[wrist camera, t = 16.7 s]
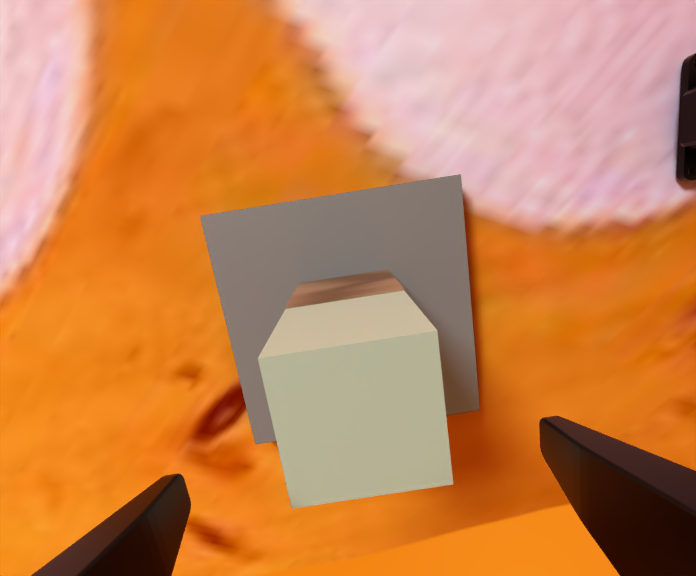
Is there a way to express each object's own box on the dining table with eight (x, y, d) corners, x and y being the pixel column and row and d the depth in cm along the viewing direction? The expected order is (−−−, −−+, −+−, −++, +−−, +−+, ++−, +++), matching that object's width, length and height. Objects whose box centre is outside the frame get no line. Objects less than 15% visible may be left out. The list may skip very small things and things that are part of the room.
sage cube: (404, 290, 14) (437, 330, 9) (417, 398, 15) (453, 484, 11) (285, 309, 14) (257, 358, 10) (306, 415, 15) (291, 508, 11)
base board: (451, 177, 20) (460, 174, 18) (470, 397, 23) (479, 410, 21) (210, 215, 20) (200, 216, 18) (260, 429, 23) (255, 444, 21)
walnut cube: (387, 269, 19) (403, 288, 14) (398, 352, 20) (417, 396, 15) (299, 283, 19) (285, 306, 14) (314, 365, 20) (306, 413, 15)
